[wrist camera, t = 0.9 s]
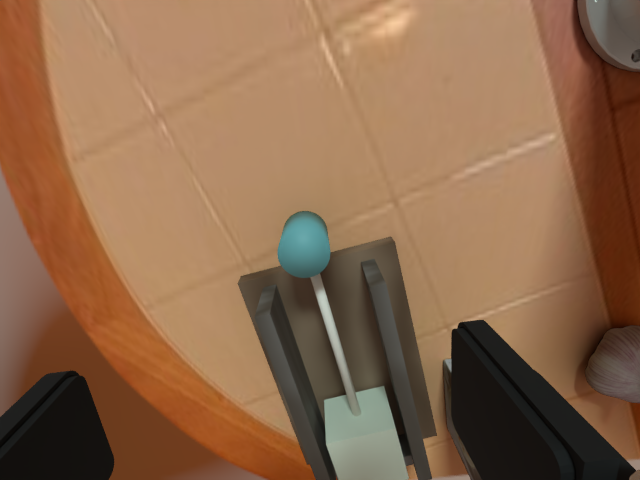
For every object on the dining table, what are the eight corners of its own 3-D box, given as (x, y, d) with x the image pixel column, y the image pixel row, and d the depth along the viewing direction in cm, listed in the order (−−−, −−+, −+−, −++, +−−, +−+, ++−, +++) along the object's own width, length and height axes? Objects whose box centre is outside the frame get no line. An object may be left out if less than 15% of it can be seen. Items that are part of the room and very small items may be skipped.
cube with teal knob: (335, 201, 28) (339, 217, 23) (396, 432, 36) (409, 481, 31) (263, 221, 28) (253, 241, 24) (339, 445, 36) (343, 495, 31)
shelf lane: (390, 236, 31) (410, 264, 25) (432, 423, 38) (455, 482, 32) (241, 276, 32) (224, 312, 26) (307, 452, 39) (306, 514, 32)
